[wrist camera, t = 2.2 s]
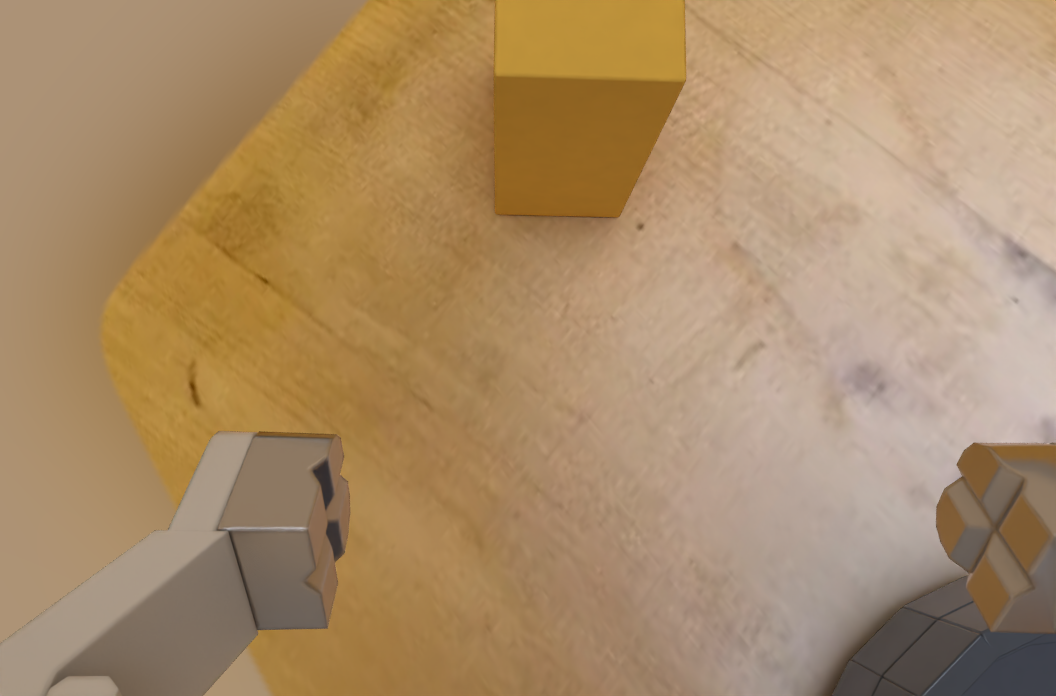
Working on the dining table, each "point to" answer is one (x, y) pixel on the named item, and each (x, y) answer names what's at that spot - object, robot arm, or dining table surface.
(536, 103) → the yellow rectangular block
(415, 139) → the dining table surface
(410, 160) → the dining table surface
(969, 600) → the bowl
